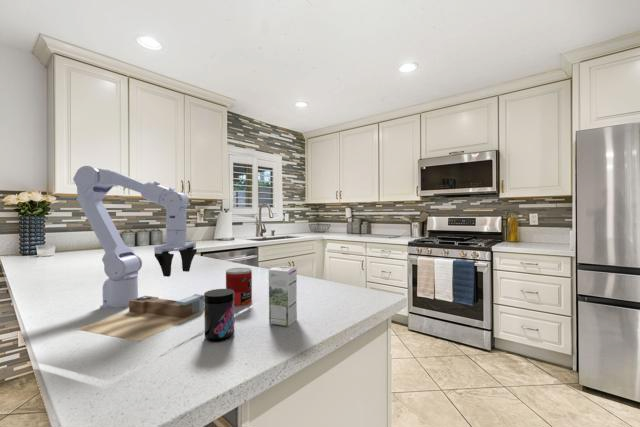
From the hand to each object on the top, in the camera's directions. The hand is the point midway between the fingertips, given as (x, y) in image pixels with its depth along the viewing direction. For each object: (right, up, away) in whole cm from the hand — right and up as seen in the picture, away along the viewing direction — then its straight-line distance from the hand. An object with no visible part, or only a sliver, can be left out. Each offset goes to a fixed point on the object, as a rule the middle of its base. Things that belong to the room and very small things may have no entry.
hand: (176, 273), depth 94 cm
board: (-1, -10, -13) cm, 17 cm away
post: (-7, -10, -7) cm, 14 cm away
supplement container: (+21, -10, -24) cm, 33 cm away
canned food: (+19, -10, +1) cm, 22 cm away
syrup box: (+35, -10, -15) cm, 39 cm away
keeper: (+9, -9, -11) cm, 17 cm away
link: (0, -9, -9) cm, 13 cm away
